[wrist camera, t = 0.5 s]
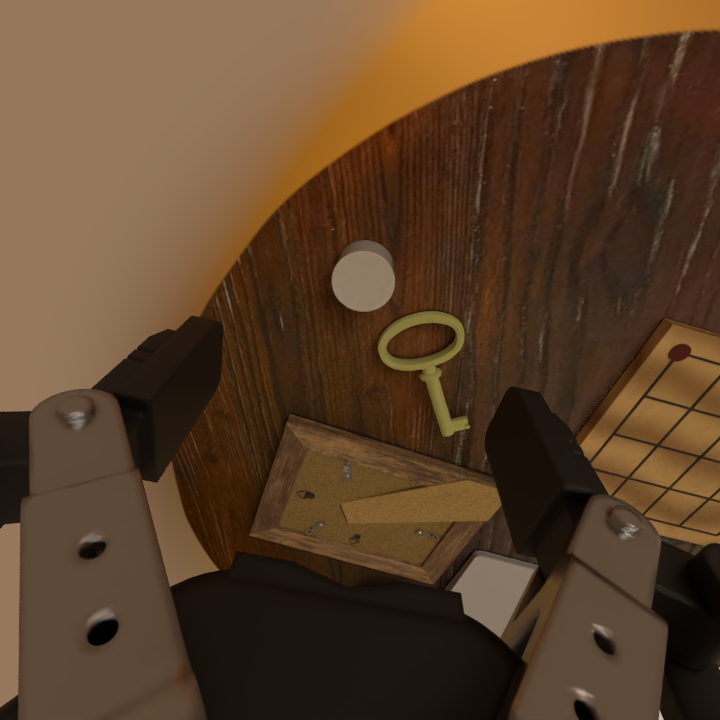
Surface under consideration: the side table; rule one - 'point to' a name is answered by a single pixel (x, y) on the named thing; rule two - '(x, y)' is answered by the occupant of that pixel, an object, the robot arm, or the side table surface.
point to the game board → (664, 434)
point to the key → (428, 363)
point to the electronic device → (491, 587)
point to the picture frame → (371, 502)
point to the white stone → (364, 276)
